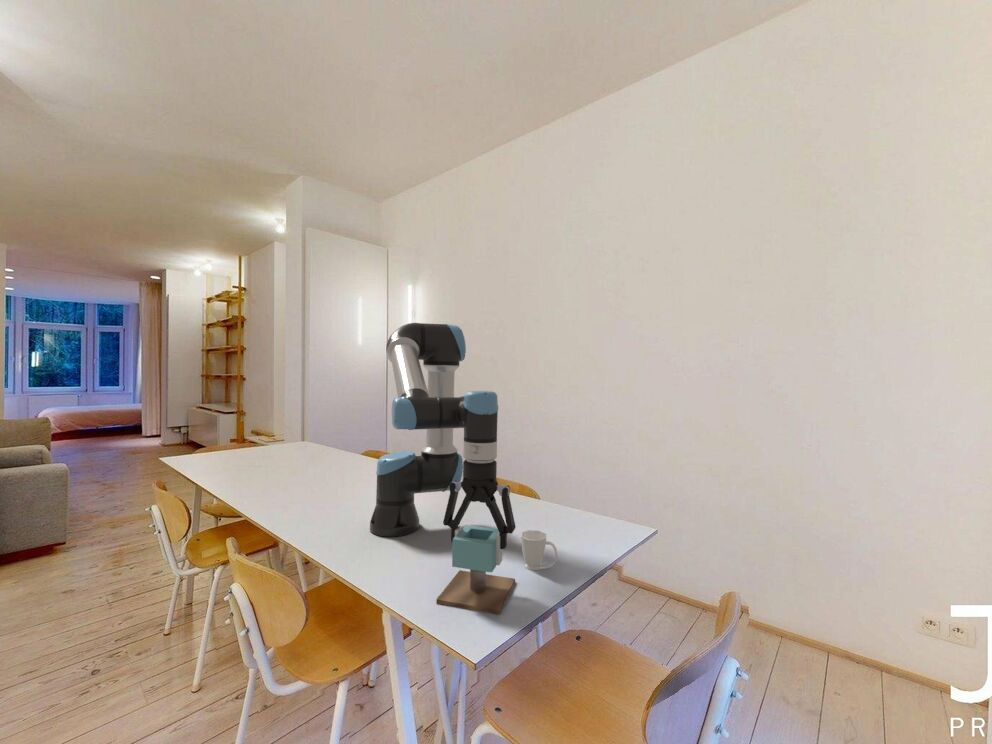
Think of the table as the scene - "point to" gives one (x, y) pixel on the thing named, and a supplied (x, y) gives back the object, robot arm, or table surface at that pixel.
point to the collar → (475, 548)
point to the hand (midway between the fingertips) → (478, 559)
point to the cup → (535, 549)
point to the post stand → (477, 591)
